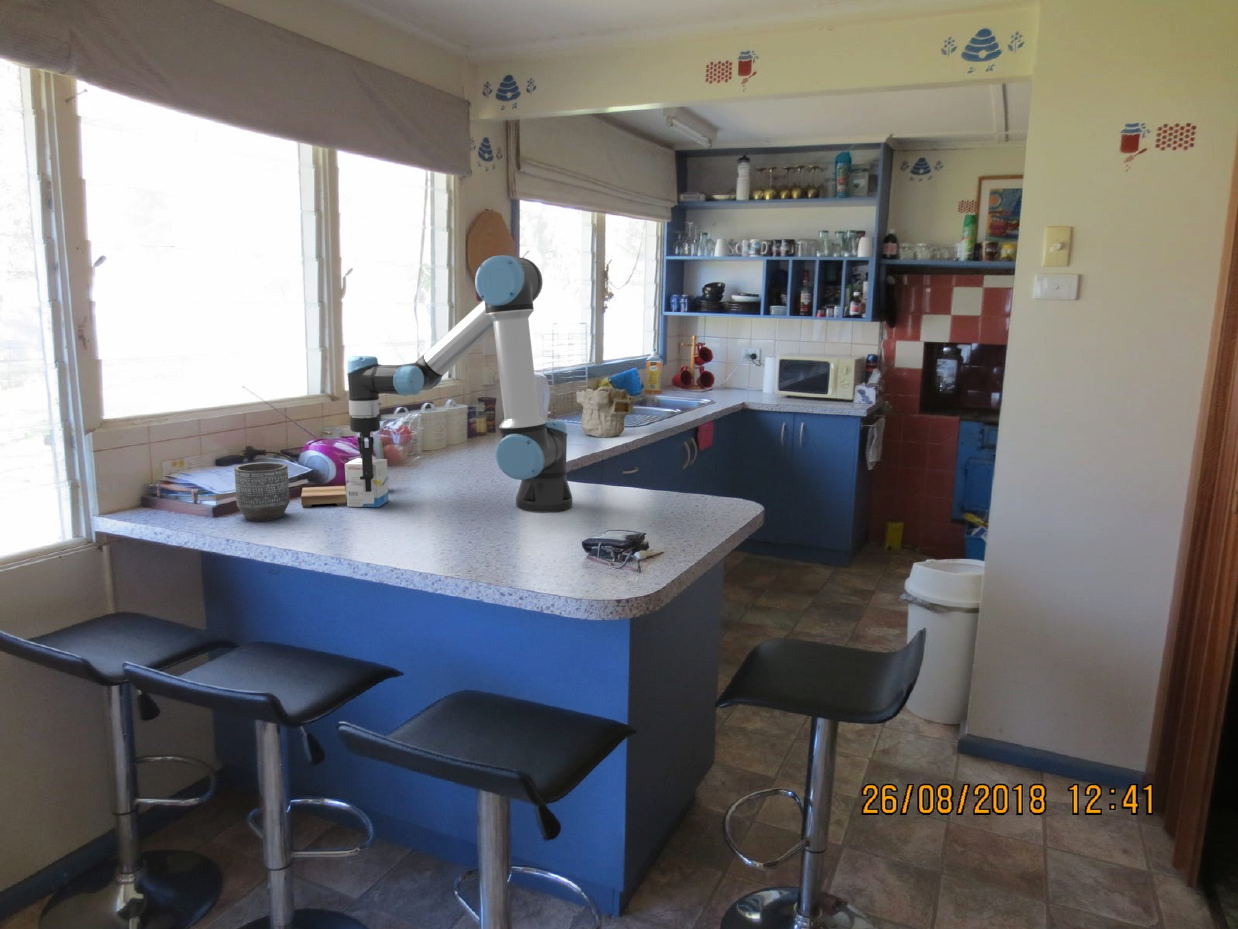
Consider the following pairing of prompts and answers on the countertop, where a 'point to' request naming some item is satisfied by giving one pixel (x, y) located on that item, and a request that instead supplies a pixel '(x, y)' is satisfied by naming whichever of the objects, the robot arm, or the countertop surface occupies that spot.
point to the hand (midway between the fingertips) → (368, 498)
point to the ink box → (356, 486)
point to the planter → (262, 490)
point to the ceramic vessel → (604, 410)
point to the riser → (323, 495)
